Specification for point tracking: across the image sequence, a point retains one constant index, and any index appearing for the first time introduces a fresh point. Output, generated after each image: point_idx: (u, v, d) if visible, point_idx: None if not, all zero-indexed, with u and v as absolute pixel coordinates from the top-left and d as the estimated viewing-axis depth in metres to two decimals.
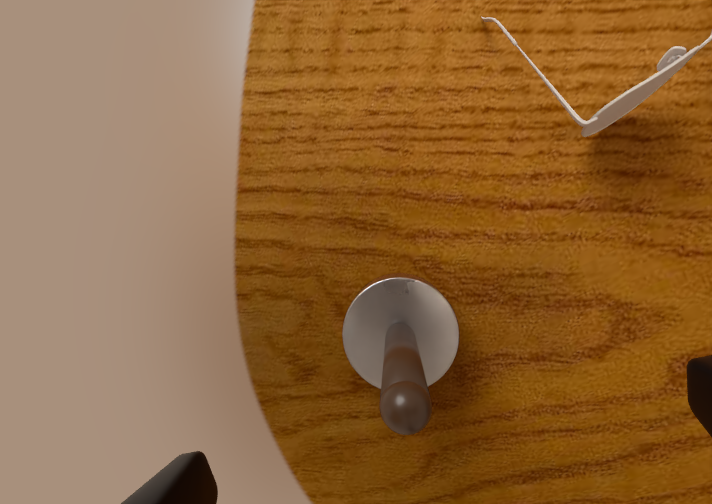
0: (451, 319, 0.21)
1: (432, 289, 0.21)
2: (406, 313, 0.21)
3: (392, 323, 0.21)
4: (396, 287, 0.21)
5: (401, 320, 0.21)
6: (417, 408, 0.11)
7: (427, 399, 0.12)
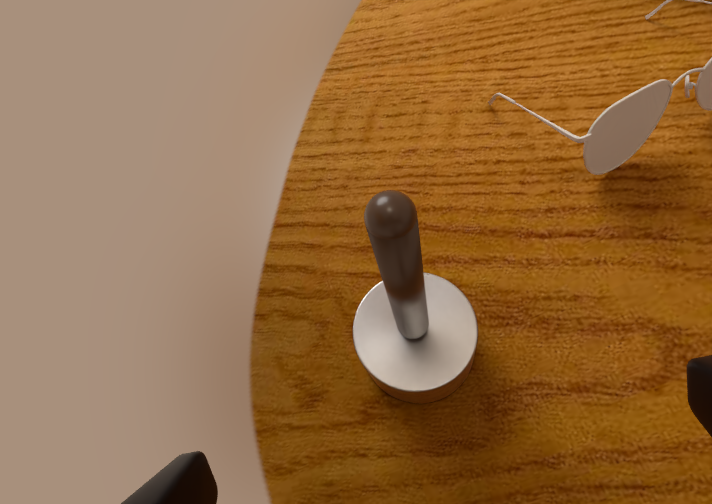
0: (468, 311, 0.20)
1: (447, 282, 0.20)
2: None
3: None
4: None
5: None
6: (399, 197, 0.11)
7: (411, 200, 0.11)
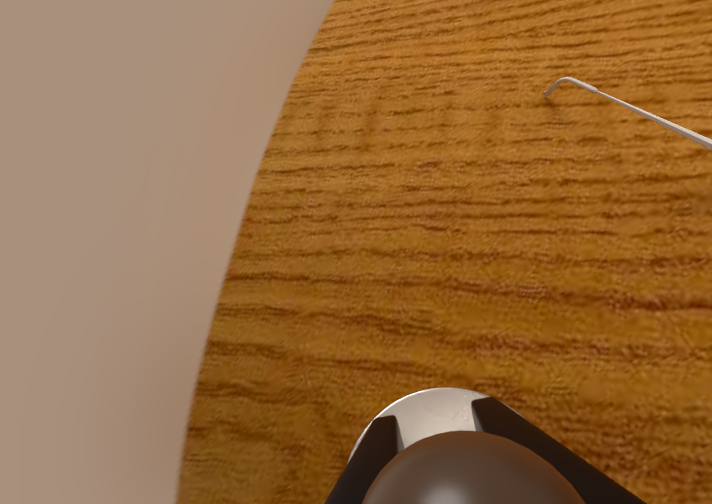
0: None
1: None
2: None
3: None
4: (443, 404, 0.12)
5: None
6: None
7: None
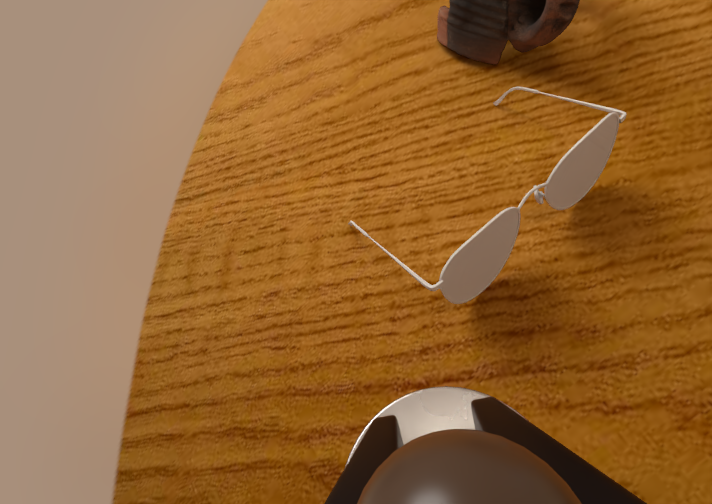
0: None
1: None
2: None
3: None
4: (442, 404, 0.12)
5: None
6: None
7: None
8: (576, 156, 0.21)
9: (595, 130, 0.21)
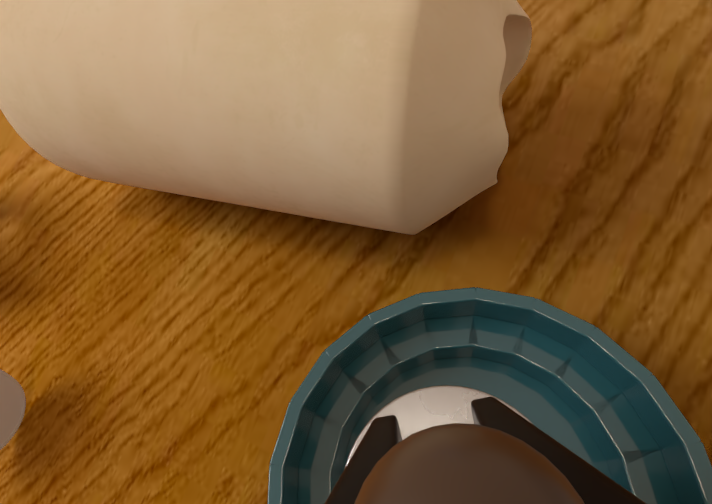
0: None
1: None
2: None
3: None
4: (443, 402, 0.12)
5: None
6: None
7: None
8: None
9: None
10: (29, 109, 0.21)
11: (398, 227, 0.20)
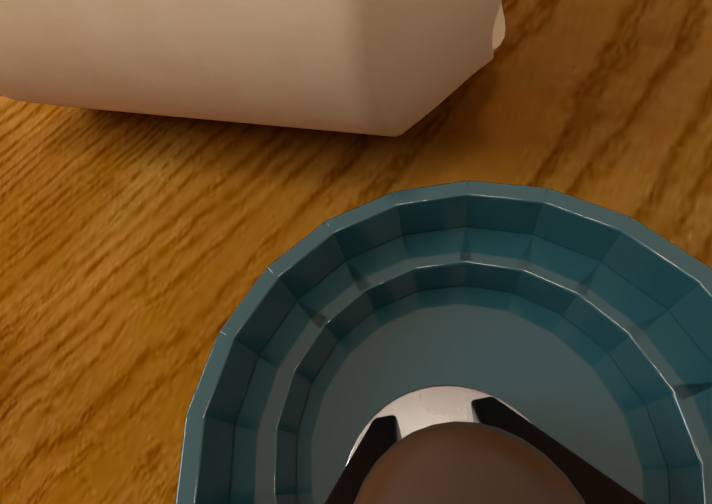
0: None
1: None
2: None
3: None
4: (443, 402, 0.12)
5: None
6: None
7: (580, 502, 0.02)
8: None
9: None
10: None
11: (365, 111, 0.15)
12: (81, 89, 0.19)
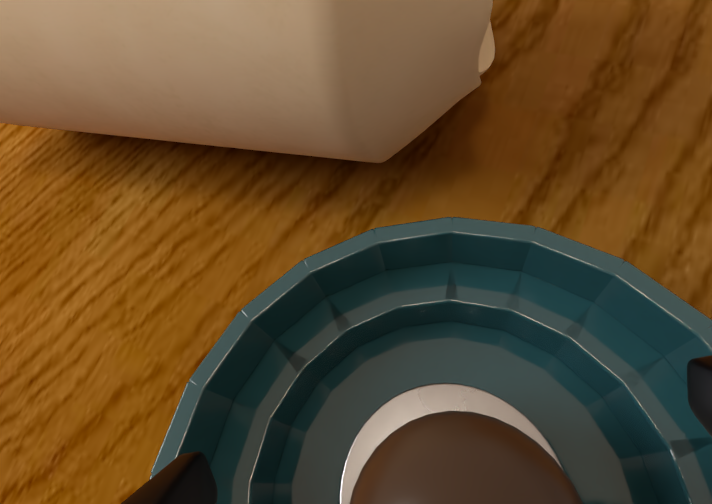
0: None
1: (509, 408, 0.11)
2: None
3: None
4: (441, 400, 0.12)
5: None
6: None
7: (571, 486, 0.02)
8: None
9: None
10: None
11: (346, 141, 0.14)
12: (54, 114, 0.18)
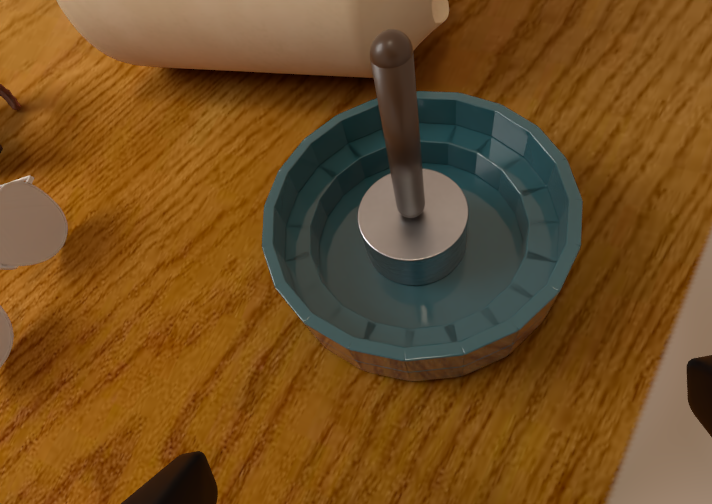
0: (460, 196, 0.22)
1: (441, 175, 0.23)
2: None
3: None
4: None
5: None
6: (399, 31, 0.14)
7: None
8: None
9: None
10: None
11: (359, 55, 0.26)
12: (180, 49, 0.30)
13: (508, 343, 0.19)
